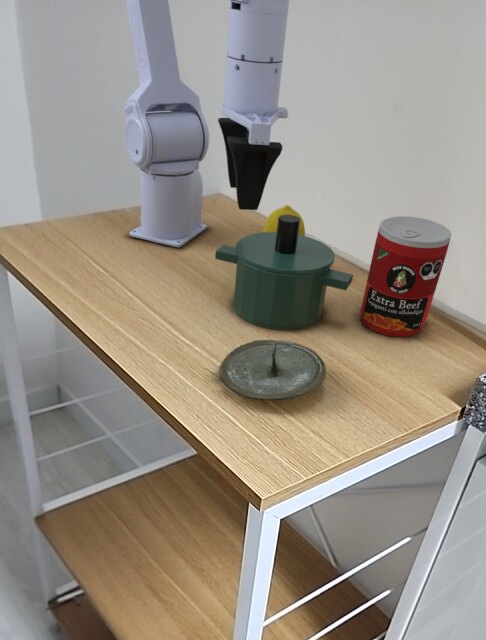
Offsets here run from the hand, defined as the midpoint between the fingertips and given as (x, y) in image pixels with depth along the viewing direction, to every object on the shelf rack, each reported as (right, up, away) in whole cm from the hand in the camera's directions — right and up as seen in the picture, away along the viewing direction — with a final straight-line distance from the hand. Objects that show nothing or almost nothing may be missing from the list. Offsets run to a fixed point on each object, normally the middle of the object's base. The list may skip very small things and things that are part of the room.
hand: (243, 197), depth 74 cm
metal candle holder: (+3, -23, -10) cm, 26 cm away
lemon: (+5, -4, +12) cm, 14 cm away
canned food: (+18, -14, +2) cm, 23 cm away
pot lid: (+5, -7, -2) cm, 9 cm away
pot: (+4, -12, +2) cm, 13 cm away
